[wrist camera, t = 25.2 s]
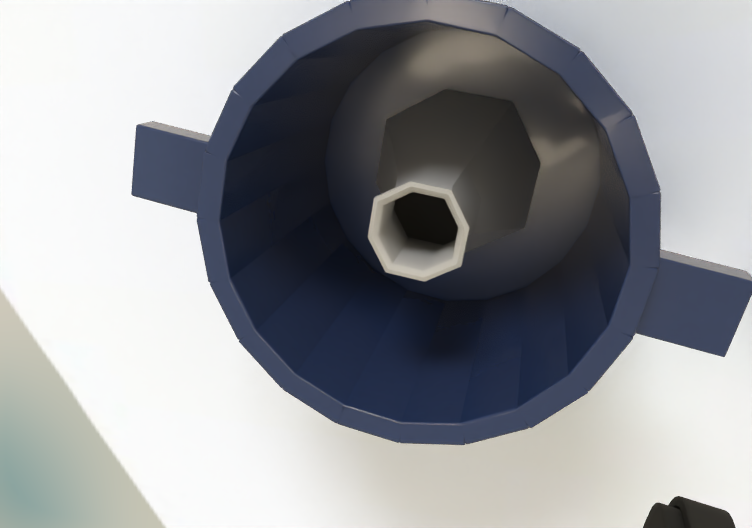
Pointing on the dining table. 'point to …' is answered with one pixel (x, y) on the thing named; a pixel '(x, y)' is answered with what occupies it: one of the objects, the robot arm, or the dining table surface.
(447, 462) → the dining table surface
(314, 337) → the pot
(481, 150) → the flask
